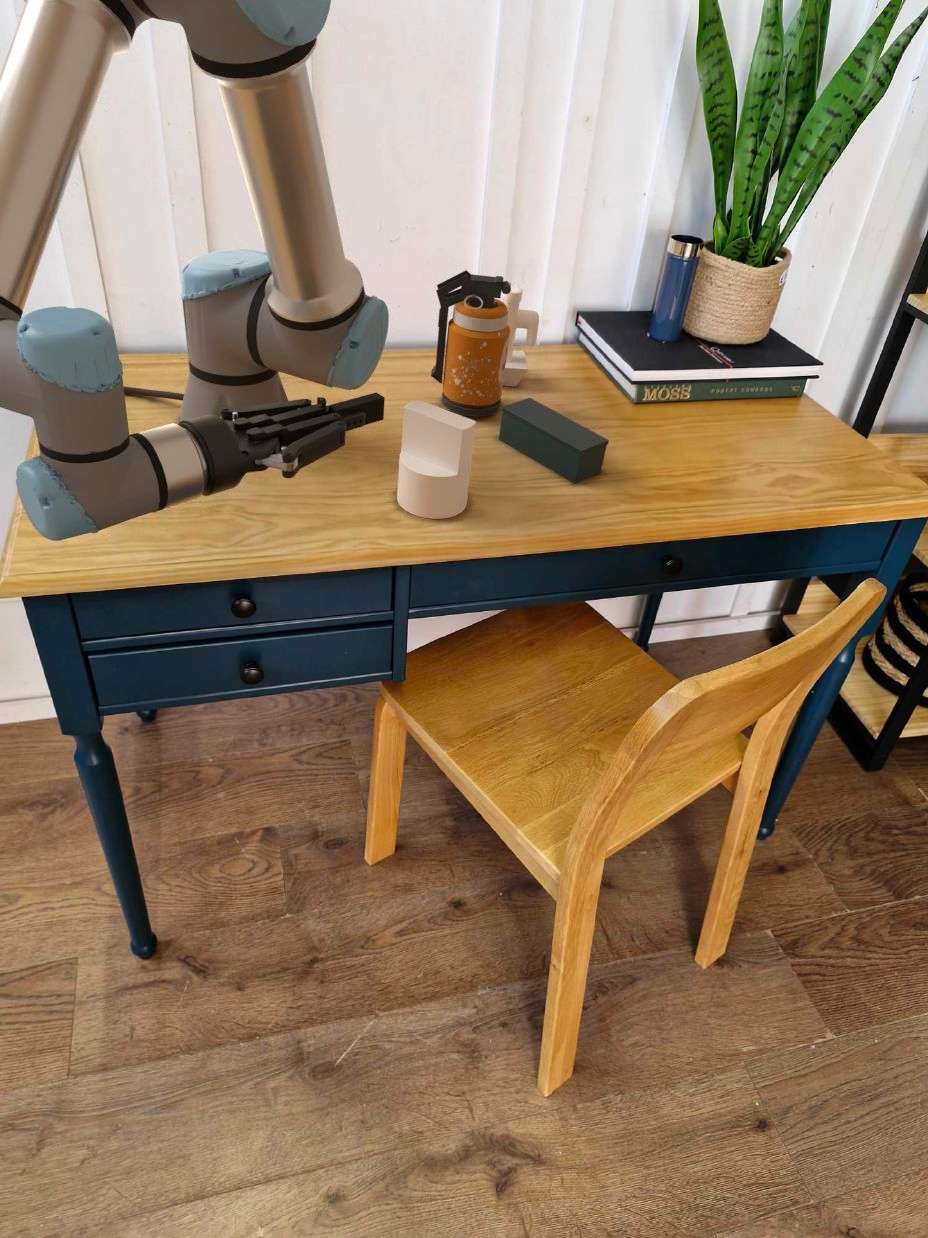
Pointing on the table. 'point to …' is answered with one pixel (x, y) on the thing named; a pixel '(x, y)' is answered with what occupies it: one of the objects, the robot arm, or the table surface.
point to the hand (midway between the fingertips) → (379, 406)
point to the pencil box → (552, 439)
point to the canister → (472, 343)
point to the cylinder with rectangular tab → (434, 461)
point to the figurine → (516, 319)
